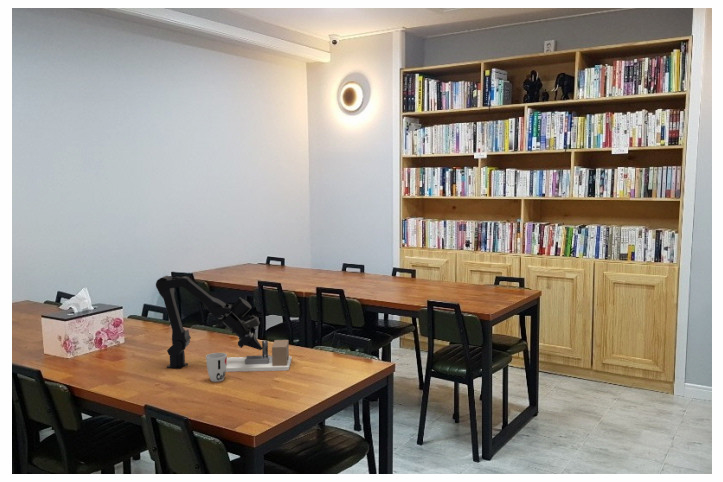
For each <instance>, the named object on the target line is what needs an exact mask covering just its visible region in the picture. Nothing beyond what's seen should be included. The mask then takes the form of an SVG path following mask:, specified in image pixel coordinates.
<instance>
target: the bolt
mask: <svg viewBox="0 0 723 482" xmlns="http://www.w3.org/2000/svg"><path fill="white" fill-rule="evenodd" d="M261 347H262V350H261V352H262V353H261V354H262V355H261V356H262V358H261V359H269V362H272V355H270V356H268V355H269V341H268V340H262V341H261Z"/></svg>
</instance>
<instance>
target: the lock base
mask: <svg viewBox="0 0 723 482" xmlns="http://www.w3.org/2000/svg"><path fill="white" fill-rule="evenodd" d="M273 341H274V342H273V344H272V347H271V355H269V354H268V356H272V362H269V359H261V358H262V355H246V356H243V357H242V356H241V357H240V356H234V357H232V356H231V357H228V356H227V365H226V372H225V373H227V372H228V373H232V372H235V373H236V372H272V371H273V372H278V371H280V372H282V371H286V372H287V370H288V371H289V370H290V367H291V363H292V355H291V356H290V350H289V349H290V348H289V345H290V344H289V343H290V342H289V341H290V340H289V339H274V340H273Z"/></svg>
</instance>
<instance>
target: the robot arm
mask: <svg viewBox="0 0 723 482" xmlns="http://www.w3.org/2000/svg"><path fill="white" fill-rule="evenodd" d="M155 287H156V289H157V291H158V293H159V295H160V296H161V297H162V299H163V301H164V306H165V310H166V312H167V317H168V320H169V323H170V328H171V343H172V344H171V346H170V347H169V348H168V349H166V351H167V354H168V356H169V365H167V366H166V368H169V369H176V370H177V369H179V370H180V369H182V368H184V367H186V366H188V365H189V363H187V362H186V354H185V350H186V348H187V347H188V346H189V344H190V343H191V339H192V337H191V336H190V331H189V329H185V328H184V326H183V323H182V319H181V317H180V312H179V310H178V306H177V302H176V298H175V288H184V289H185V290H186V291H187V292H189V293H190V294H191V295H193V296H194V297H195V299H197V300H198V301H200V302H201V303H202V304H203V305H204V306H205V308H206V309H207V311H208V312H209V313H210V314H211V316H212V317H215V318H218V319H217V321H218V322H217V324H218V326H221V324H224V325H225V326H226V327H227V328H228V329H229V330H230V331H231V333H232V334H234V335H236V336H237V337H238V341H237V346H238V347H239V348H240V349H242V348H243V347H244V346H246V347H250V348H252V349H256V350H258V351H262V344H260V342H259V340H258V339H257V332H256V330H257V329H258V328H257V327H258V326H260V324H261V322H260V320H259V317H258V316H255V315H251V316H249V319H248V320H246V321H245V320H241V319H240V318H243V317H244V316H245V315H246V314H247V313H248V312H249V311H250V310H251V309H252V305H251V304H250V302H249V301H247V300H245V299H244V298H242V297H239V298H238V299H237V300H236V301H235V303H233V304H229V303H226V302H224V301H222V300H221V299H219V298H217V297H214V296H212V295H210V294H209V293H208V292H207V291H205V290H204V289H203V288H202V287H201V286H199V285H198V284H197V283H196V282H194V281H193V280H192V279H191V278H190V277H189V276H174V277H172V276H170V275H164V276H162V277H160V278H158V279H157V280H156V282H155Z"/></svg>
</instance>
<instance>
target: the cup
mask: <svg viewBox="0 0 723 482" xmlns="http://www.w3.org/2000/svg"><path fill="white" fill-rule="evenodd" d="M227 357H228V354H227V353H224V352H212V353H208V354H206V355H205V360H206V369H207V375H208V377H209V379H210V381H211V382H212V383H218V382H223V381H224V380H225V377H226V373H227V372H226V365H227Z"/></svg>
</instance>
